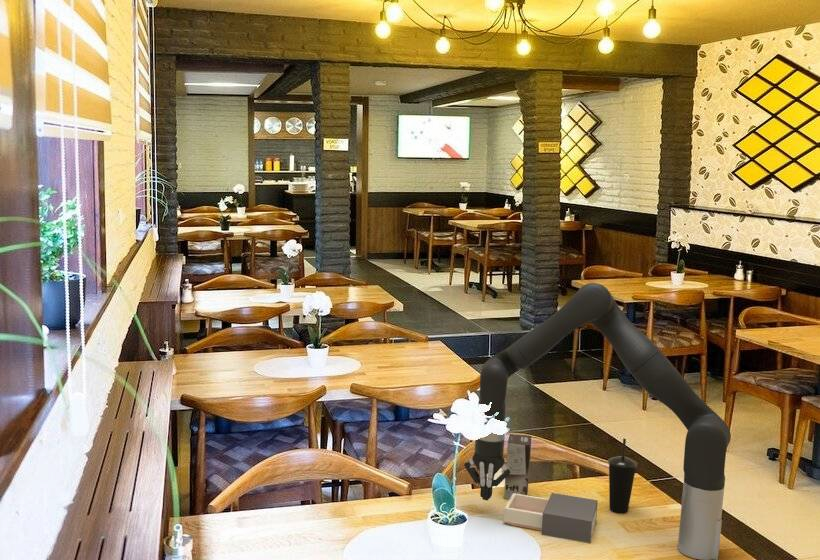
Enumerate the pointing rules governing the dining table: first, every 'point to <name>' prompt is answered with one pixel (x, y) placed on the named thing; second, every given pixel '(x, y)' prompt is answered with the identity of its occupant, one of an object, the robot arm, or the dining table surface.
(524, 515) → the sliding drawer box
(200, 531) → the dining table surface
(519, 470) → the coffee box
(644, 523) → the dining table surface
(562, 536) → the sleeve
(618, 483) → the drinking cup
